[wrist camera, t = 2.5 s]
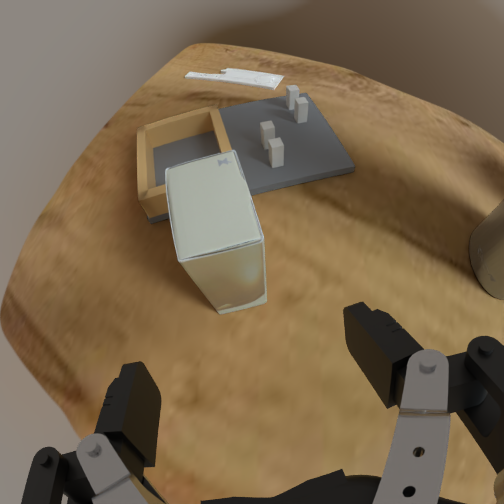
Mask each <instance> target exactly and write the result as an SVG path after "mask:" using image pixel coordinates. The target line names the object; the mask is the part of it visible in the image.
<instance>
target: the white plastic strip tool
mask: <svg viewBox="0 0 504 504" xmlns="http://www.w3.org/2000/svg"><path fill="white" fill-rule="evenodd" d="M221 73H224V74H204V73H196V72H189V73H188V74H187V75H186V76H185V78H186V79H198V80H209V81H219V82H226V83H234V84H241V85H248V86H254V87H260V88H265V89H271V90H274V89H275V88H276V87H277V85H278V84H279V82H280V81H281V80H282V78H283V77H284V76H281V75H275V74H269V73H262V72H256V71H248V70H240V69H231V68H227V69H226V70H221Z"/></svg>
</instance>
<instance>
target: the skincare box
mask: <svg viewBox="0 0 504 504" xmlns="http://www.w3.org/2000/svg"><path fill="white" fill-rule="evenodd" d="M165 183H166V196H167V203H168V211H169V217H170V224H171V229H172V235H173V240H174V245H175V249H176V254H177V259H178V262H179V263H180V264H181V266H182V267H183V268H184V269H185V271H186V272H187V273H188V275H189V276H190V277H191V279H192V280H193V281H194V282H195V284H196V285H197V286H198V288H199V289H200V290H201V291H202V293H203V294H204V295H205V297H206V298H207V299H208V300H209V302H210V303H211V304H212V305H213V307H214V308H215V309H216V311H217V312H218V313H219V314H225V313H229V312H234V311H238V310H242V309H246V308H250V307H254V306H257V305H261V304H264V303H266V302H267V290H266V267H265V246H264V235H263V232H262V229H261V226H260V223H259V219H258V216H257V213H256V210H255V207H254V204H253V201H252V197H251V194H250V191H249V188H248V186H247V183H246V180H245V177H244V174H243V171H242V168H241V165H240V162H239V159H238V156H237V153H236V151H235V150H230V151H226V152H223V153H218V154H214V155H210V156H206V157H203V158H199V159H195V160H192V161H188V162H185V163H181V164H178V165H176V166H173V167H169V168H167V169H166V170H165Z"/></svg>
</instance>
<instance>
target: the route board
mask: <svg viewBox="0 0 504 504" xmlns="http://www.w3.org/2000/svg"><path fill="white" fill-rule="evenodd" d="M230 150H235V151H236V153H237V156H238V159H239V162H240V165H241V168H242V171H243V174H244V177H245V180H246V183H247V186H248V188H249V191H250V194H251V195H255V194H259V193H263V192H267V191H271V190H275V189H280V188H284V187H288V186H292V185H296V184H301V183H305V182H310V181H314V180H318V179H323V178H328V177H332V176H337V175H342V174H346V173H351V172H354V169H355V165H354V163H353V162H352V160H351V158H350V157H349V155H348V153H347V152H346V150H345V149H344V147H343V145H342V144H341V142H340V141H339V139H338V138H337V136H336V135H335V133H334V132H333V130H332V129H331V127H330V126H329V124H328V123H327V121H326V120H325V118H324V117H323V115H322V114H321V112H320V111H319V110H318V108H317V107H316V105H315V104H314V103H313V101H312V100H311V98H310V97H309V96H308V94H307V93H302V94H299V89H298V87H297V86H296V85H291V86H286V96H282V97H276V98H270V99H264V100H259V101H254V102H249V103H244V104H239V105H235V106H230V107H226V108H222V109H218V107H217V104H216V105H212V106H208V107H204V108H200V109H197V110H193V111H189V112H186V113H182V114H179V115H176V116H172V117H169V118H166V119H163V120H159V121H156V122H153V123H150V124H147V125H144V126H141V127H139V128H137V182H138V202H139V203H140V205H141V206H142V208H143V209H144V211H145V212H146V214H147V219H148V221H149V222H150V223H151V224H152V223H155V222H159V221H162V220H165V219H168V218H170V217H169V211H168V203H167V196H166V183H165V170H166V169H167V168H169V167H173V166H176V165H178V164H181V163H185V162H188V161H192V160H195V159H199V158H203V157H206V156H210V155H214V154H218V153H223V152H226V151H230Z"/></svg>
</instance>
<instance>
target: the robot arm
mask: <svg viewBox="0 0 504 504" xmlns="http://www.w3.org/2000/svg"><path fill="white" fill-rule="evenodd" d="M469 253H470V259H471V264H472V267H473V270H474V273H475V274H476V276H477V278H478V280H479V282H480V283H481V285H482V286H483V288H484V289H485V290H486V291H487V292H488V293H489V294H491V295H492V296H494V297H495V298H498V299H502V300H504V200H503V201H502V202H501V203H500V204H499V205H498V206H497V207H496V208H495V209H494V210H493V211H492V212H491V213H490V214H489V215H488V216H487V217H486V218H485V220H484V221H483V222H482V223H481V224H480V225H479V226H478V227H477V228H476V229H475V230H474V231H473V233H472V235H471V238H470V244H469ZM343 315H344V326H345V339H346V344H347V347H348V349H349V352H350V353H351V355H352V356H353V358H354V359H355V361H356V362H357V364H358V365H359V367H360V368H361V370H362V371H363V373H364V374H365V376H366V377H367V379H368V380H369V382H370V383H371V385H372V386H373V388H374V389H375V391H376V392H377V394H378V396H379V397H380V399H381V400H382V402H383V403H384V405H385V406H386V408H387V409H388V408H390V407H392V406H394V405H397V406H398V407H399V409H400V411H399V415H398V419H397V424H396V428H395V432H394V436H393V440H392V444H391V448H390V452H389V455H388V459H387V462H386V465H385V469H384V472H383V475H382V478H381V477H377V476H371V475H350V476H345V474H344V472H343V470H342V469H341V470H338V471H335V472H332V473H329V474H326V475H323V476H320V477H317V478H314V479H310V480H307V481H305V482H304V483H302V484H300V485H298V486H296V487H294V488H292V489H290V490H288V491H286V492H284V493H282V494H279V495H277V496H275V497H271V498H252V497H230V498H222V499H214V500H205V501H201V504H465V503H461V502H457V501H453V500H449V499H445V498H442V497H439V494H440V489H441V484H442V479H443V474H444V468H445V462H446V455H447V448H448V440H449V430H450V413H453V412H456V413H457V415H458V416H459V417H460V419H461V420H462V422H463V423H464V425H465V426H466V427H467V429H468V430H469V432H470V433H471V435H472V436H473V438H474V439H475V441H476V442H477V444H478V445H479V447H480V448H481V450H482V451H483V453H484V454H485V456H486V457H487V459H488V460H489V462H490V463H491V465H492V467H493V468H494V470H495V471H496V473H497V477H496V479H495V482H494V495H495V498H496V500H497V503H496V504H504V346H503V345H502V344H501V343H500V342H499V341H498V340H496V339H495V338H492V337H489V336H479V337H476V338H474V339H473V340H472V341H471V342H470V343H469V345H468V348H467V352H463V353H459V354H455V355H451V356H445V355H444V354H442V353H441V352H439V351H436V350H431V349H426V350H424V349H423V348H422V347H421V346H420V345H419V344H418V343H417V342H416V340H415V339H414V338H413V337H412V336H411V335H410V334H409V333H408V332H407V331H406V330H405V329H404V328H403V329H402V326H401V325H400V324H399V323H398V322H397V323H396V320H395V319H393V318H392V317H391V316H390V315H389V314H388V313H386V312H383V311H381V310H379V309H376V310H374V311H371V309H370V308H369V307H368V306H367V305H366V304H365V303H364V302H359V303H356V304H353V305H350V306H347V307H345V308H344V310H343ZM105 398H106V399H104V402H103V407H102V408H101V412H100V415H99V418H98V422H97V425H96V429H95V432H94V434H91V435H88V436H86V437H85V438H84V439H83V440H81V442H80V443H79V445H78V447H77V451H73V452H70V453H66V454H62V455H61V454H60V453H59V452H58V451H57V450H56V449H55V448H53V447H45V448H42V449H41V450H39V451H38V452H37V453H36V455H35V456H34V458H33V461H32V464H31V468H30V472H29V475H28V478H27V482H26V486H25V490H24V494H23V498H22V502H21V504H61V501H62V496H63V494H64V495H66V496H67V497H68V501H67V504H169V503H168V502H167V501H166V500H165V499H164V498H163V496H162V495H161V494H160V493H159V492H158V491H157V489H156V488H155V487H154V486H153V485H152V483H151V482H150V481H149V480H148V478H147V477H146V476H145V475H144V474H143V472H144V467H155V459H156V447H157V437H158V427H159V418H160V410H161V395H160V391H159V389H158V387H157V385H156V384H155V382H154V380H153V379H152V377H151V375H150V373H149V372H148V370H147V368H146V367H145V365H144V363H143V362H141V361H139V362H134V363H128V364H124V365H123V366H122V369H121V372H120V375H119V378H115V379H114V381H113V382H112V383H111V384H110V386H109V387H108V390H107V393H106V396H105Z"/></svg>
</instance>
